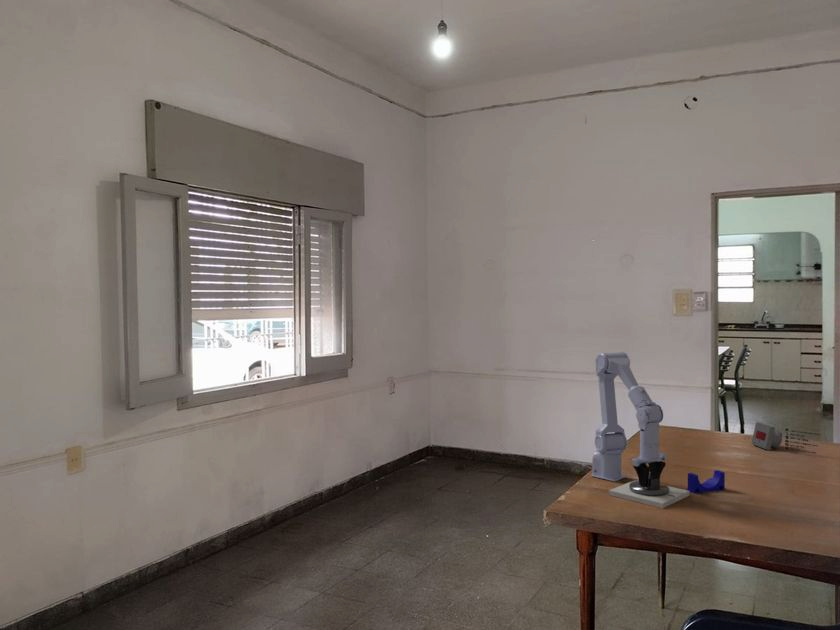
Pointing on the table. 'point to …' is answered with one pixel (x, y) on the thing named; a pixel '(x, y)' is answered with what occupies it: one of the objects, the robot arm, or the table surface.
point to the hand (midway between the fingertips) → (649, 485)
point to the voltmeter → (773, 437)
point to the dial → (650, 487)
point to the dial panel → (652, 500)
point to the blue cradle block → (706, 483)
